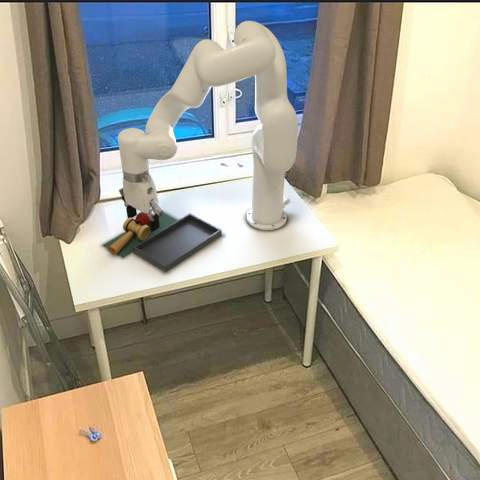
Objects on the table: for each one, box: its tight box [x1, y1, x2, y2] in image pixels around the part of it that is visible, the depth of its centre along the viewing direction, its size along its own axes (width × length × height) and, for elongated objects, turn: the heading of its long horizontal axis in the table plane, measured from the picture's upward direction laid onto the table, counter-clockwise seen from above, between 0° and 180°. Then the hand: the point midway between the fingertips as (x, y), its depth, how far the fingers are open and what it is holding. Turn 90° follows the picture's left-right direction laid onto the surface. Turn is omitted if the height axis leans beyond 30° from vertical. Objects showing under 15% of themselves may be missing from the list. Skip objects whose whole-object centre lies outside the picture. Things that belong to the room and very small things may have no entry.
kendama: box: [107, 211, 155, 256], centre depth 175 cm, size 8×6×18 cm
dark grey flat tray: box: [132, 212, 223, 273], centre depth 176 cm, size 23×13×2 cm, turn 142°
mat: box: [103, 212, 179, 258], centre depth 180 cm, size 23×8×1 cm, turn 142°
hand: (143, 223), depth 177 cm, fingers open, 9 cm apart
